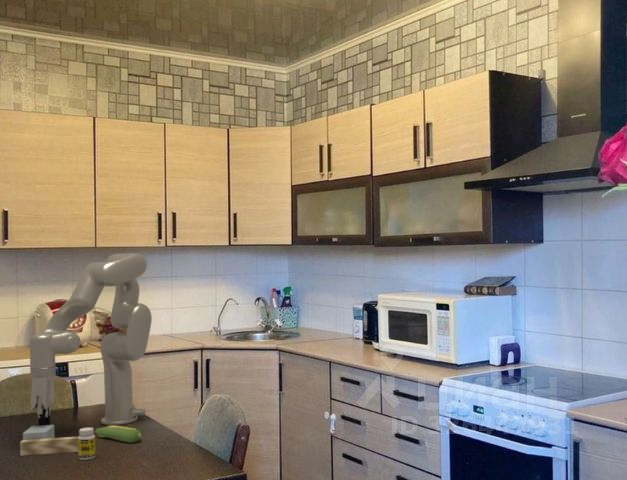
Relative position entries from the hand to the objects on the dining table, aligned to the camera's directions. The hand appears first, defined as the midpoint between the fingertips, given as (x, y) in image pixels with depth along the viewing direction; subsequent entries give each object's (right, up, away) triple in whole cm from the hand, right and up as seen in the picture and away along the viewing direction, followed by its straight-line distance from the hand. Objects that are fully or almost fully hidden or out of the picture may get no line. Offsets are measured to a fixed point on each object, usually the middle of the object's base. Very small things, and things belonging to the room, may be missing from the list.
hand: (44, 429), depth 219 cm
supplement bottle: (+20, -4, -18) cm, 27 cm away
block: (+1, -4, -6) cm, 8 cm away
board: (+8, -4, -12) cm, 15 cm away
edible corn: (+24, -4, +1) cm, 24 cm away
